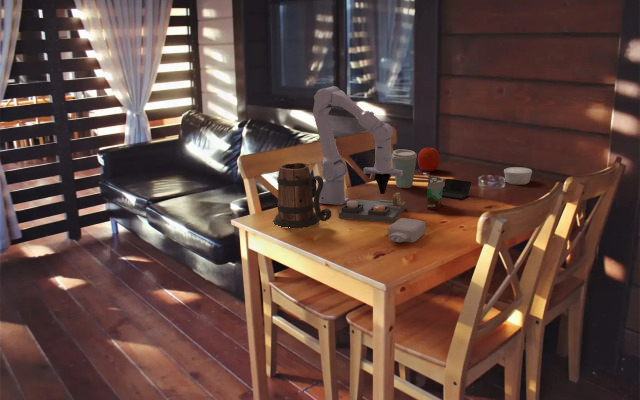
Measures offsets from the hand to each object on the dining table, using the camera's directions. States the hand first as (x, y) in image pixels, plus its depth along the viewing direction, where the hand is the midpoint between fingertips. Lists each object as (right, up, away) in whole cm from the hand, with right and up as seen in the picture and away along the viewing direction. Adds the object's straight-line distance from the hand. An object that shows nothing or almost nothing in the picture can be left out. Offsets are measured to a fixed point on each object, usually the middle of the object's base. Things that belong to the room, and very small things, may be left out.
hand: (382, 193), depth 218 cm
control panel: (-4, -7, -4) cm, 9 cm away
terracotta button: (-2, -7, -11) cm, 13 cm away
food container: (+20, -5, +2) cm, 21 cm away
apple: (+27, +11, +53) cm, 61 cm away
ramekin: (+60, +5, +30) cm, 67 cm away
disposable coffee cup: (+12, +3, +29) cm, 32 cm away
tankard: (-29, -10, -11) cm, 33 cm away
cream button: (-12, -5, -7) cm, 15 cm away
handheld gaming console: (+30, -1, +14) cm, 33 cm away
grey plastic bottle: (+3, -15, -31) cm, 35 cm away
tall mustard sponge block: (+6, -4, -4) cm, 8 cm away
